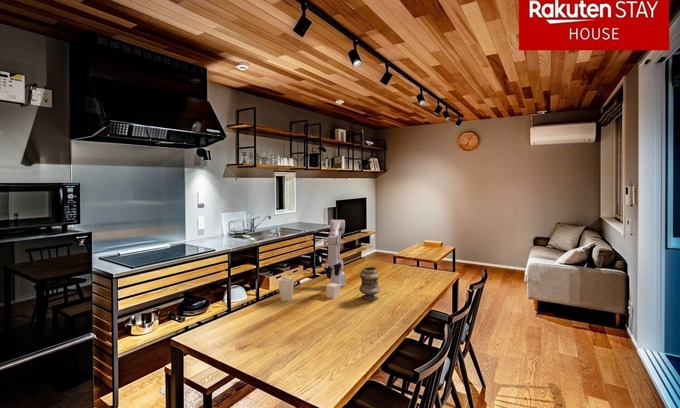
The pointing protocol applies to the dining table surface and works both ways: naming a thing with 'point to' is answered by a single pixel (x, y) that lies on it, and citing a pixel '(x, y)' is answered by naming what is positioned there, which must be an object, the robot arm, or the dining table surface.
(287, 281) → the cup
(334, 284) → the beige block
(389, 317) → the dining table surface
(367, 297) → the apothecary jar
